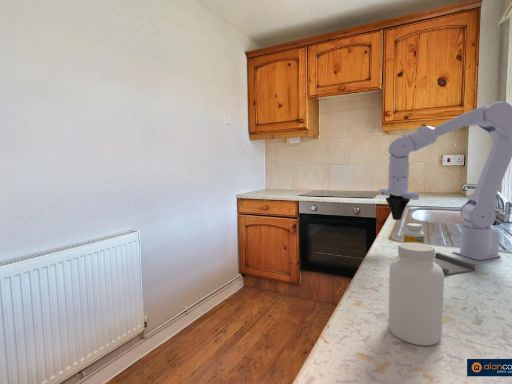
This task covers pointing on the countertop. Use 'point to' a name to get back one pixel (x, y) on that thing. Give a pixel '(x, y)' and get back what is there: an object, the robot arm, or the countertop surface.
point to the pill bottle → (416, 295)
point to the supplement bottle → (414, 233)
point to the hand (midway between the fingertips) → (396, 219)
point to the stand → (452, 264)
